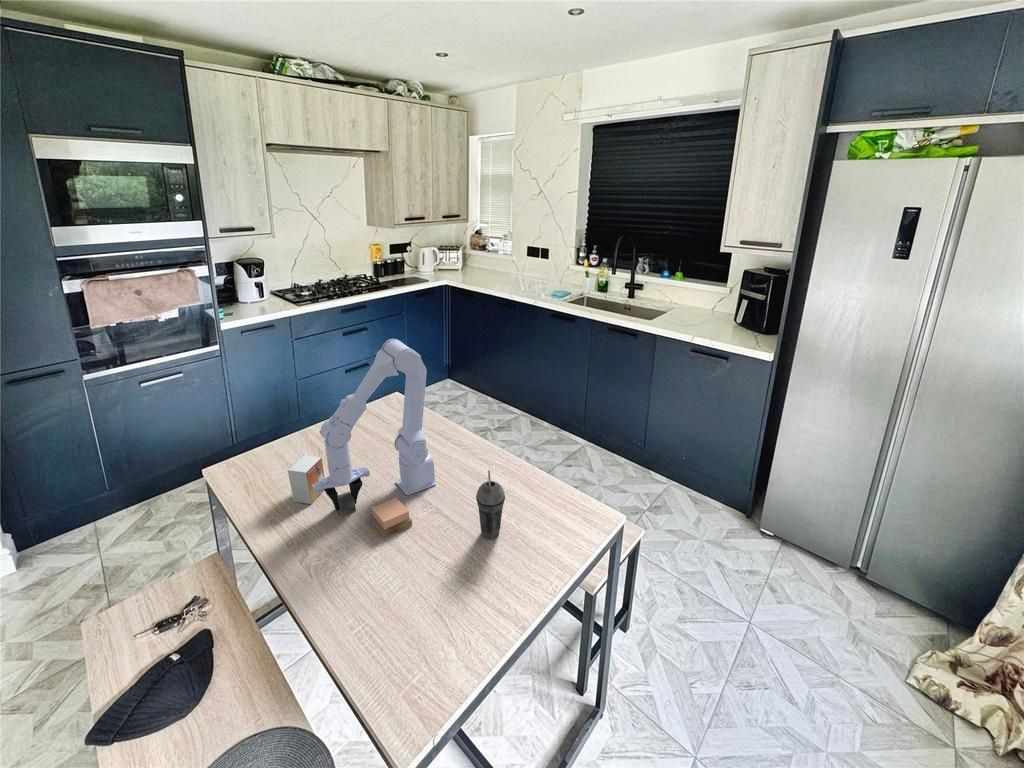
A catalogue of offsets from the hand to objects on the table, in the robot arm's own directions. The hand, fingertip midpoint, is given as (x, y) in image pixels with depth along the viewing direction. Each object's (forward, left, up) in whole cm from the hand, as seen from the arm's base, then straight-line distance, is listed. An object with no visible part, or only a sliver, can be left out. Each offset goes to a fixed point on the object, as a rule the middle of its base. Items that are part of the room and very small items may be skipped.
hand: (345, 505), depth 134 cm
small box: (+6, -12, -2) cm, 14 cm away
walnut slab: (-8, +12, -2) cm, 14 cm away
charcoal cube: (0, 0, -2) cm, 2 cm away
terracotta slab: (-8, +12, 0) cm, 14 cm away
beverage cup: (-27, +30, -2) cm, 40 cm away
